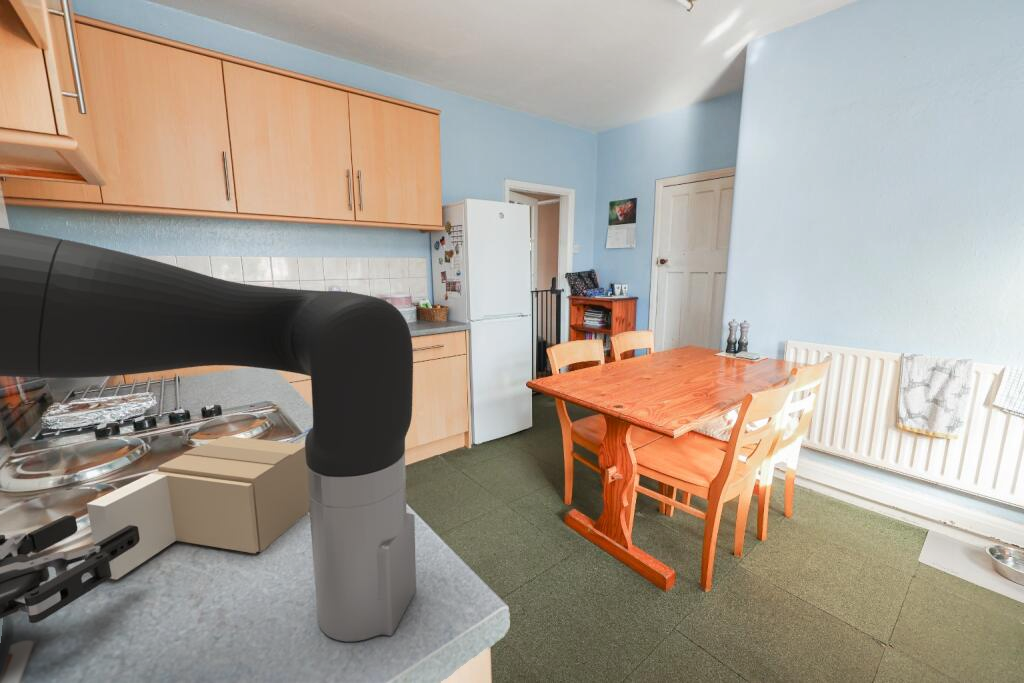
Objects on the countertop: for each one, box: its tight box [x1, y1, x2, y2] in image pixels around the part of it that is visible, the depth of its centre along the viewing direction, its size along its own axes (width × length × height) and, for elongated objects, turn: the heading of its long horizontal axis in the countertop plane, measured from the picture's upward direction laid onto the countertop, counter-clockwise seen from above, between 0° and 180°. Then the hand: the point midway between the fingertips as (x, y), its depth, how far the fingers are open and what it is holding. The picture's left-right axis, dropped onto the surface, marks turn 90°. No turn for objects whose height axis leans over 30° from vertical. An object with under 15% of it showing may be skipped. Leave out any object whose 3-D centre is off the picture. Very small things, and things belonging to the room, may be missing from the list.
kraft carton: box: [157, 435, 310, 553], centre depth 59 cm, size 14×10×10 cm
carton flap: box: [86, 470, 259, 581], centre depth 50 cm, size 14×8×9 cm, turn 79°
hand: (104, 527), depth 47 cm, fingers open, 8 cm apart
